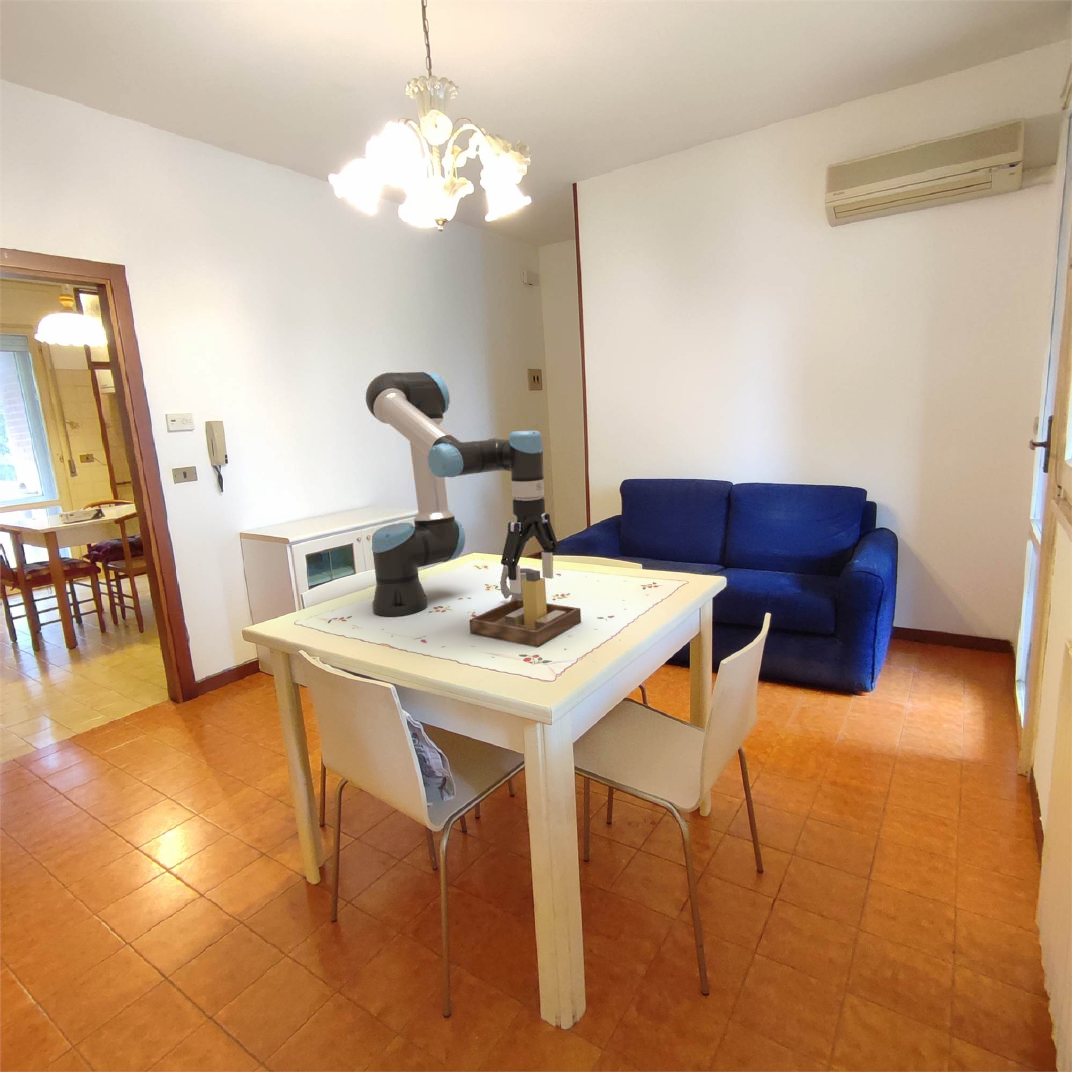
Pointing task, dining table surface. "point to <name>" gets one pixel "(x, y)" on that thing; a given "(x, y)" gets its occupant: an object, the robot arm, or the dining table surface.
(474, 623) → the box
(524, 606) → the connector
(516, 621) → the inlet
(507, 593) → the mug
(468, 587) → the dining table surface
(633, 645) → the dining table surface
